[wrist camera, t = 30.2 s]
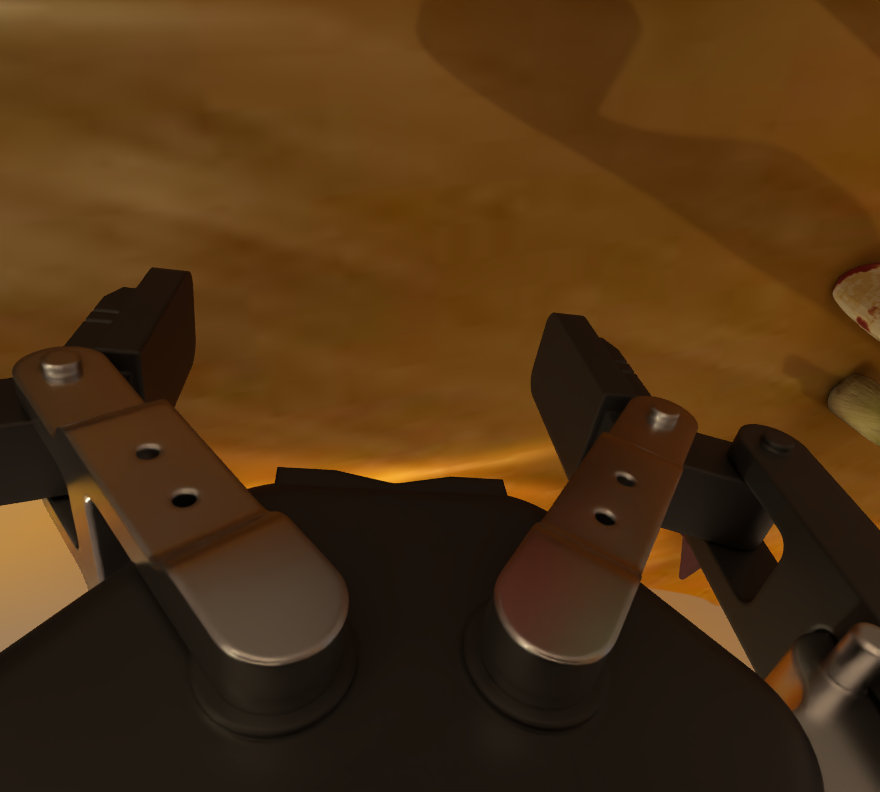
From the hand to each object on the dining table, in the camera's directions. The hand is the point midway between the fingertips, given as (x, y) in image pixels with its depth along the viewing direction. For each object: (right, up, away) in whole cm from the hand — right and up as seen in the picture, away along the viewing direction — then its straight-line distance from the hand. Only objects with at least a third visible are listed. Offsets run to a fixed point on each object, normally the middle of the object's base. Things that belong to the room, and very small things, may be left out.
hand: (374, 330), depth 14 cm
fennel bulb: (+46, -1, +53) cm, 70 cm away
